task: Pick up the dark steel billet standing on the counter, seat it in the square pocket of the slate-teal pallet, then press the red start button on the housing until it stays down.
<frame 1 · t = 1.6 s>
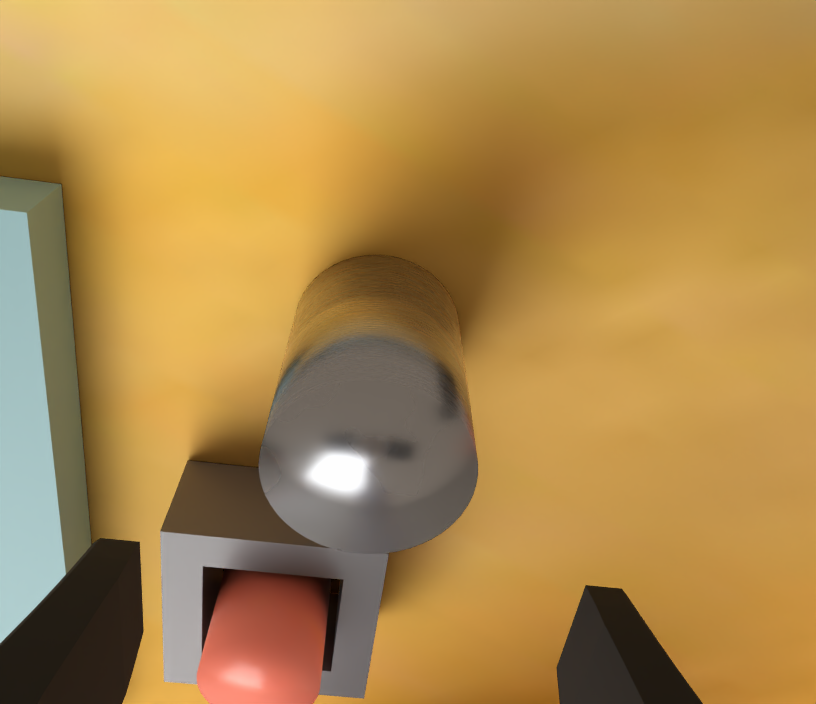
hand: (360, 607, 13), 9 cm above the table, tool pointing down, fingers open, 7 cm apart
button housing: (284, 545, 25), on the table
start button: (268, 628, 22), point 3 cm above the table, slide at 0.0 cm
billet: (376, 331, 21), on the table
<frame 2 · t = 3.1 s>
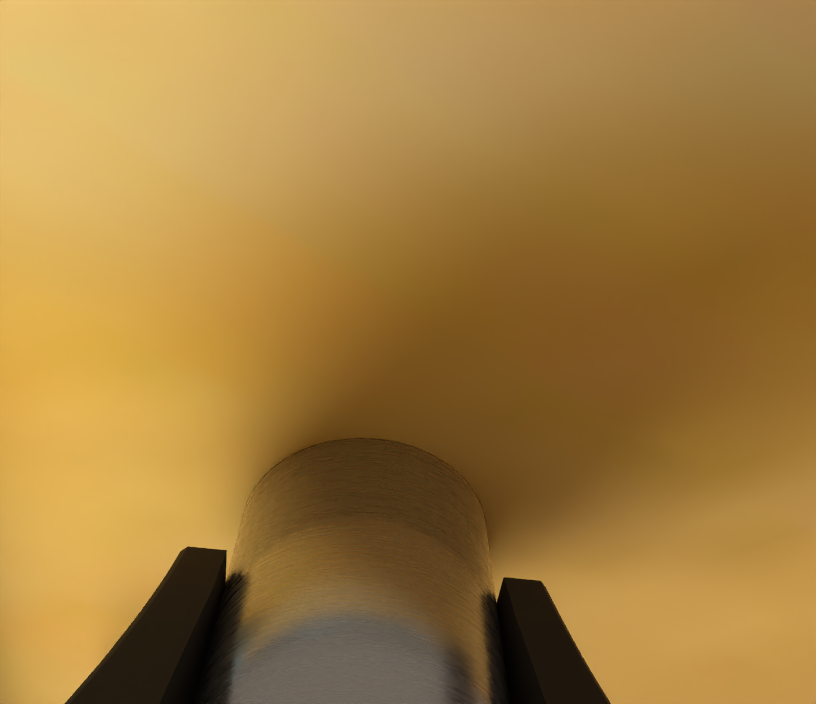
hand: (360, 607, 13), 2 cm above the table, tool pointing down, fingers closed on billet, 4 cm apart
billet: (364, 537, 14), on the table, touching gripper
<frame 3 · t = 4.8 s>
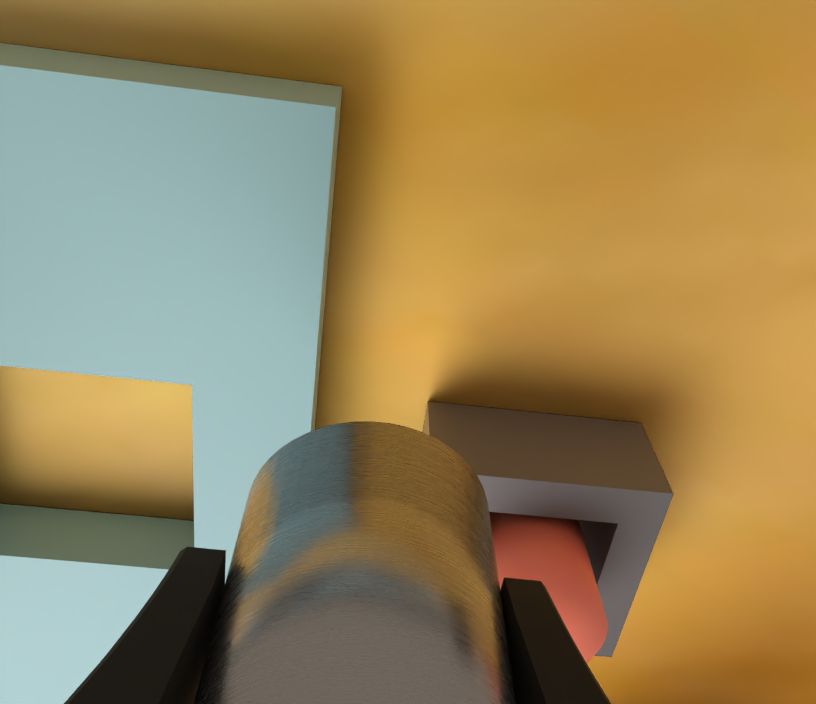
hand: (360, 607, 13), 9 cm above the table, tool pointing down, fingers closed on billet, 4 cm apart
button housing: (514, 495, 23), on the table
start button: (530, 578, 20), point 3 cm above the table, slide at 0.0 cm
billet: (368, 521, 14), point 7 cm above the table, touching gripper
pallet: (97, 428, 22), on the table
when the fingers open (3 cm above the table, at t = 6.8 s): billet drops 1 cm, resting in pallet.
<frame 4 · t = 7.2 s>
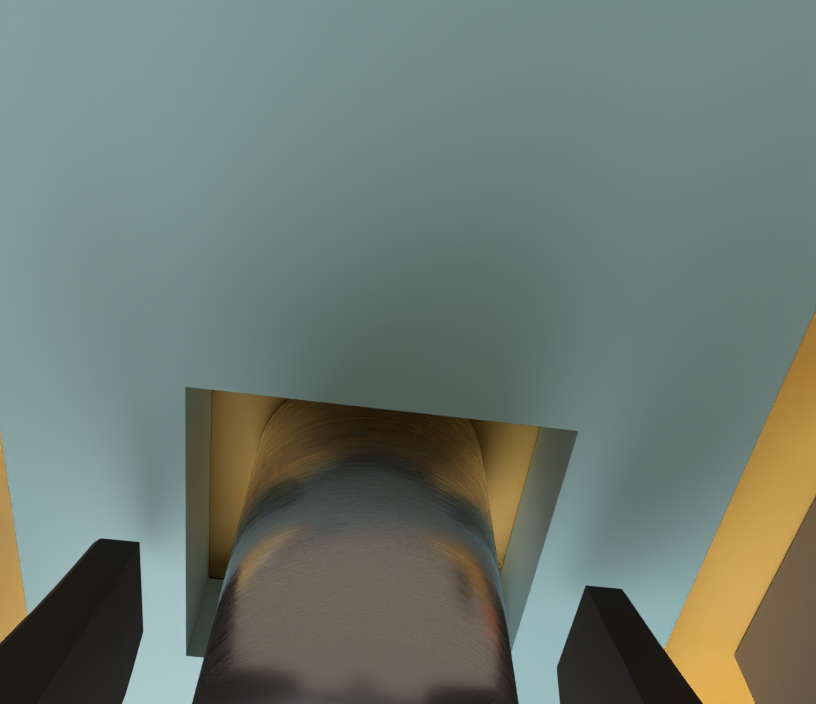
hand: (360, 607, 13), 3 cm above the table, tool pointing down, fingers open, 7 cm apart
billet: (370, 467, 15), resting in pallet
pallet: (368, 481, 15), on the table
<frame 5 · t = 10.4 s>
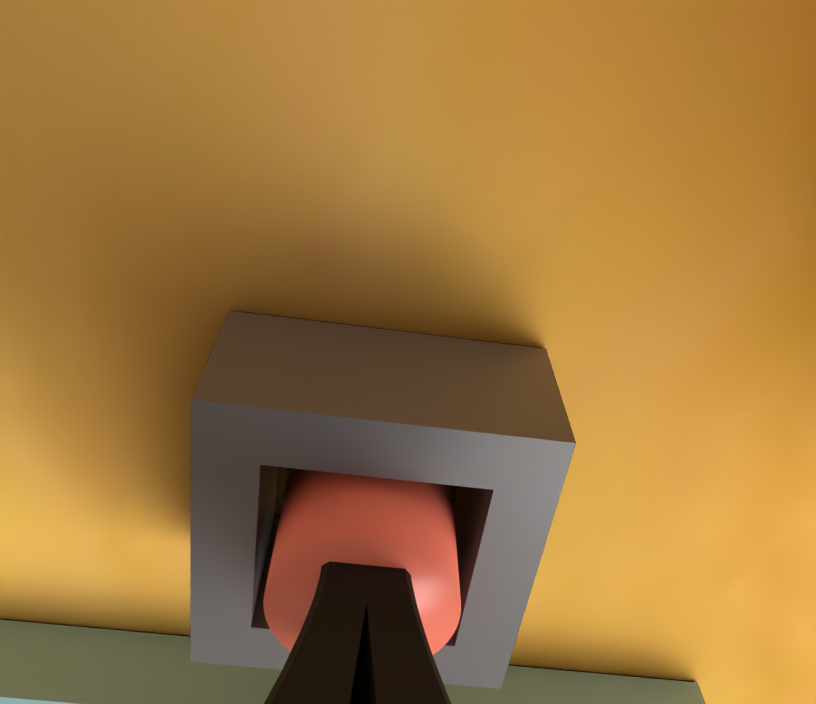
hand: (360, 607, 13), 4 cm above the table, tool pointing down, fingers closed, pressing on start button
button housing: (371, 456, 16), on the table
start button: (366, 534, 14), point 2 cm above the table, slide at 1.0 cm, touching gripper
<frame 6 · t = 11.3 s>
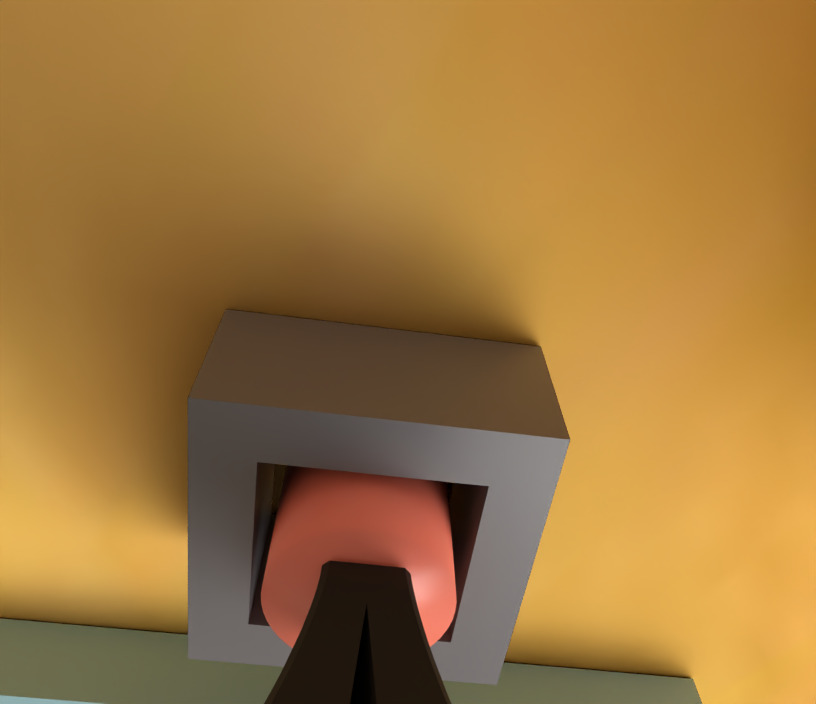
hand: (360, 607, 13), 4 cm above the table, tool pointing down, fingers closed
button housing: (367, 454, 16), on the table
start button: (363, 528, 14), point 2 cm above the table, slide at 1.0 cm
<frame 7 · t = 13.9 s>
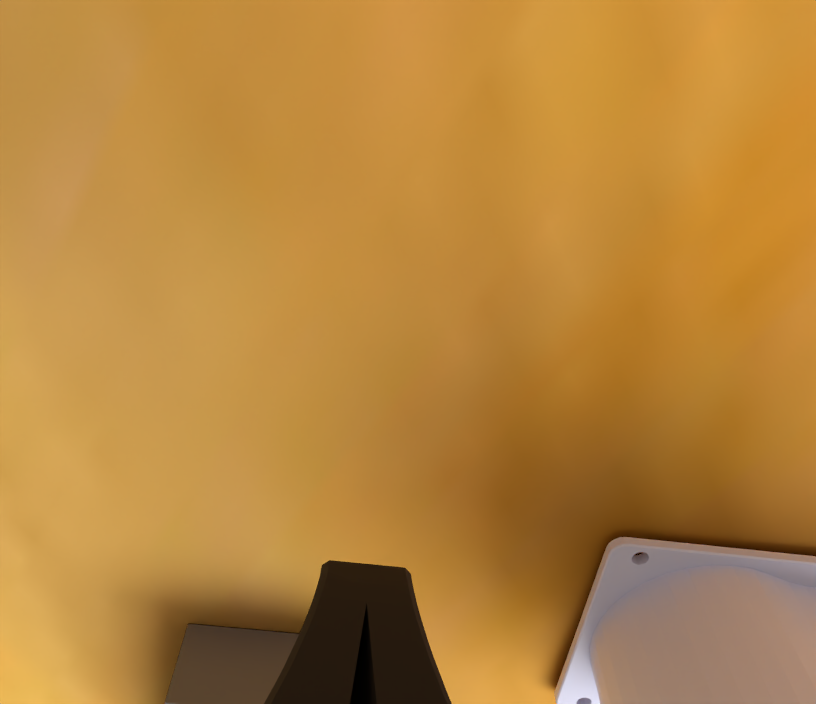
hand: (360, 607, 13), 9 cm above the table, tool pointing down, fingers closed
button housing: (272, 688, 28), on the table
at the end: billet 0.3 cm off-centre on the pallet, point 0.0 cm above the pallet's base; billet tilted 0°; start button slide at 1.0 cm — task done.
